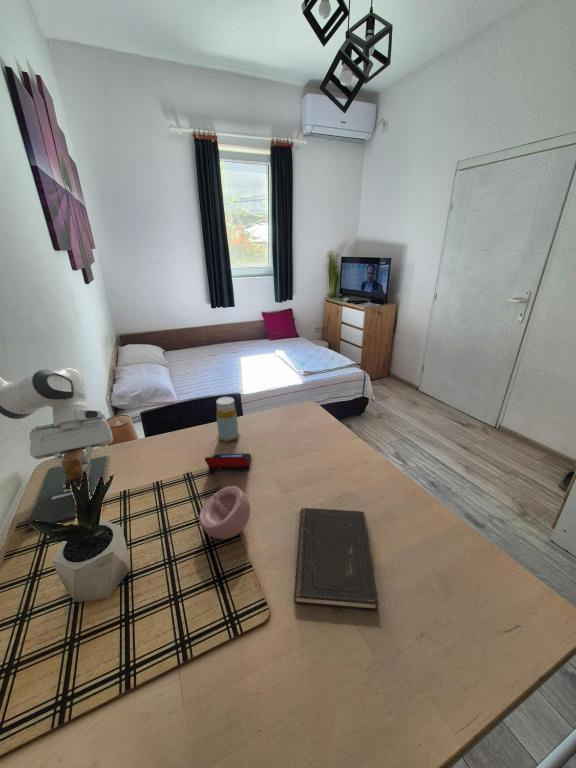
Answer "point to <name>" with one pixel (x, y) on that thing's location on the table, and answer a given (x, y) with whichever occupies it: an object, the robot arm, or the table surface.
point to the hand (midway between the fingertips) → (75, 466)
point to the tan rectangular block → (74, 466)
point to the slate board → (63, 494)
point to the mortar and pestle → (225, 513)
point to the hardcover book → (334, 561)
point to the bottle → (226, 419)
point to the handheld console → (228, 462)
